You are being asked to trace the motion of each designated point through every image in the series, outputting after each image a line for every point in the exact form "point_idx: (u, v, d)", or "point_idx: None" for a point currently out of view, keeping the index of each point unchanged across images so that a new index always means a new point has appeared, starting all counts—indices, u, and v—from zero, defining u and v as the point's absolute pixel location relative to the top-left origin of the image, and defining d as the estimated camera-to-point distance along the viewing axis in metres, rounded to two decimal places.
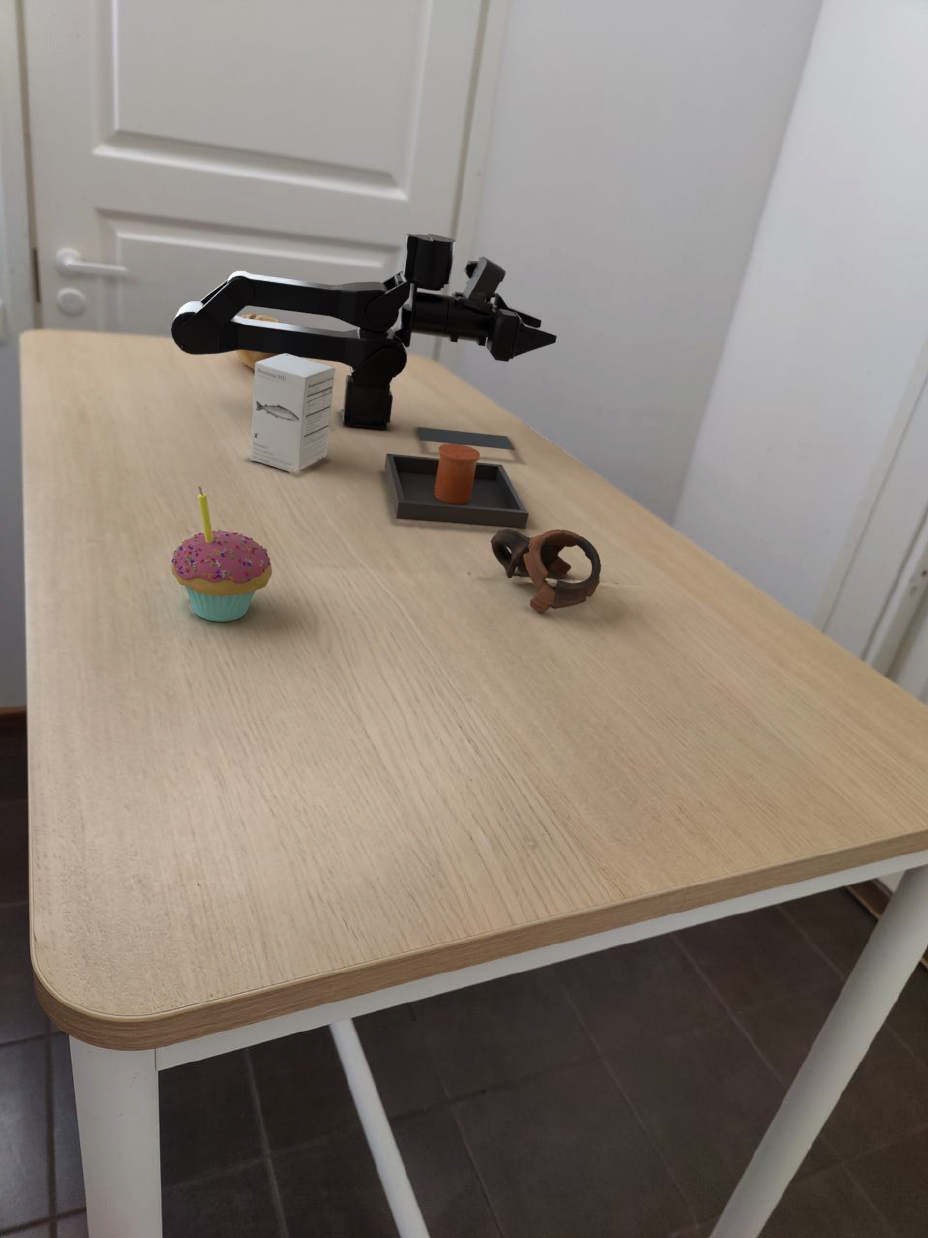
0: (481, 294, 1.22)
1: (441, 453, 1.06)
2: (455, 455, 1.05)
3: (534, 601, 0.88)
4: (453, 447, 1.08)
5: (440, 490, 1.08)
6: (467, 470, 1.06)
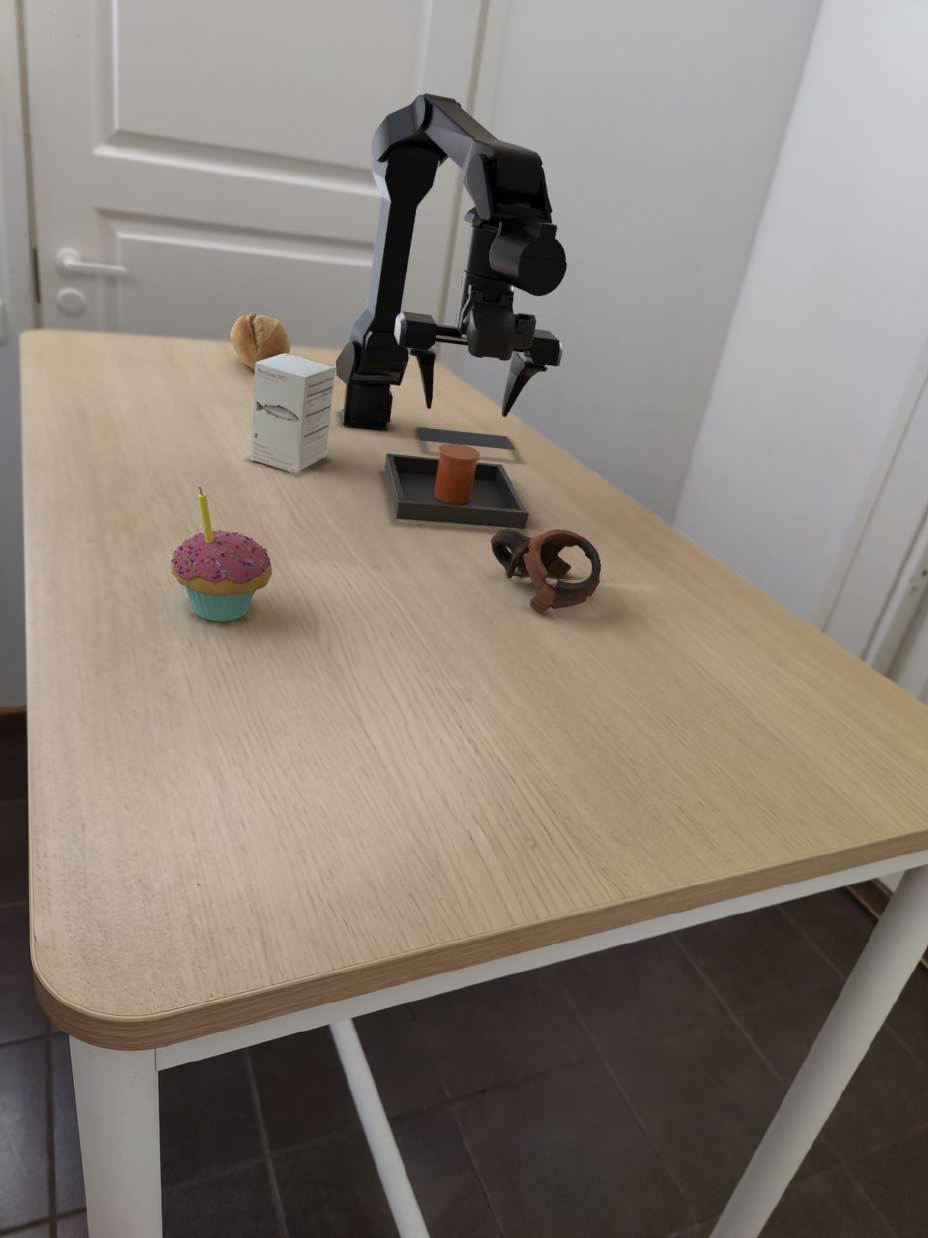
0: (465, 319, 0.95)
1: (441, 453, 1.06)
2: (455, 455, 1.05)
3: (534, 601, 0.88)
4: (453, 447, 1.08)
5: (440, 490, 1.08)
6: (467, 470, 1.06)
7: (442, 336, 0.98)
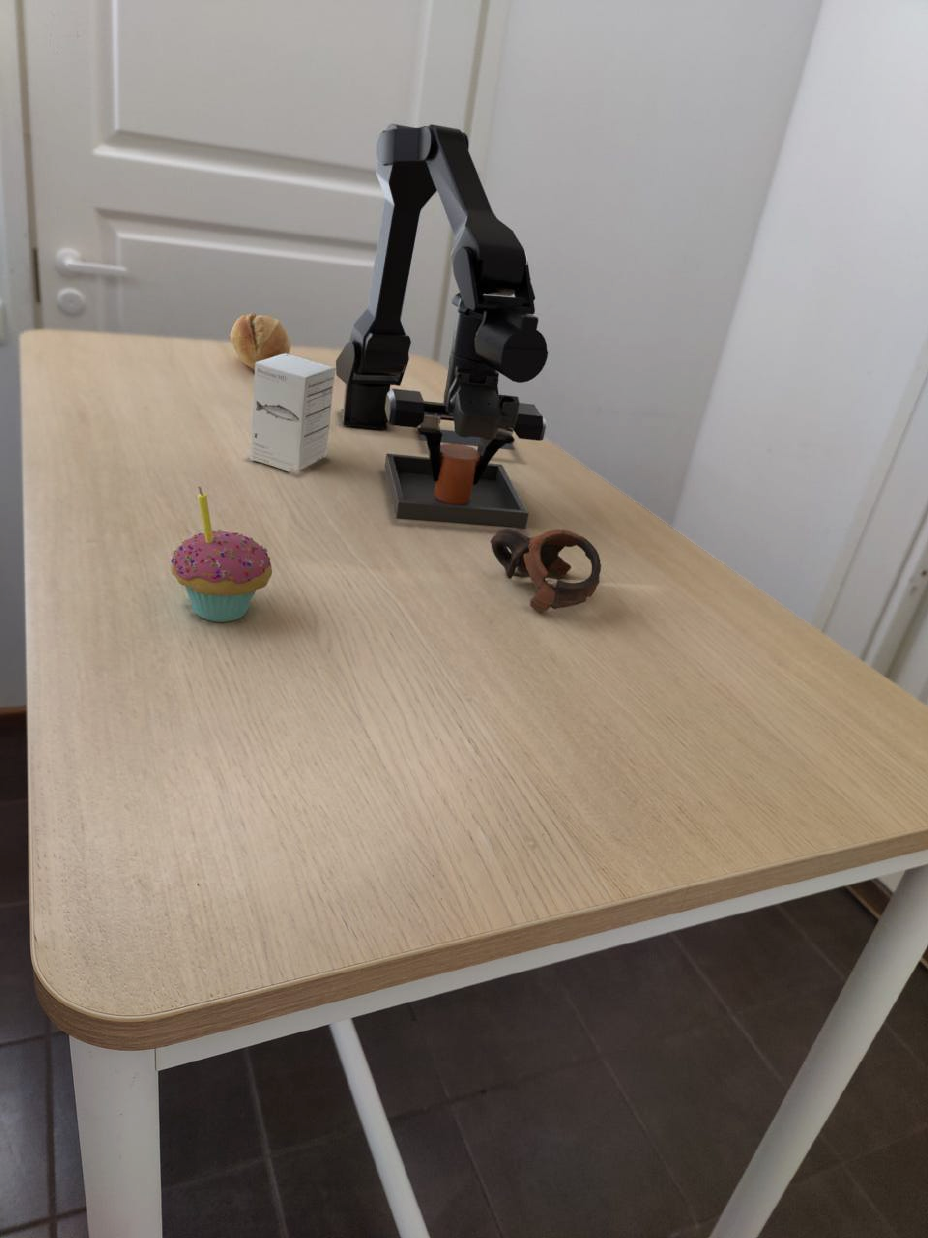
0: (452, 400, 0.99)
1: (441, 453, 1.06)
2: (455, 455, 1.05)
3: (534, 601, 0.88)
4: (453, 447, 1.08)
5: (440, 490, 1.08)
6: (468, 470, 1.06)
7: (448, 415, 1.03)
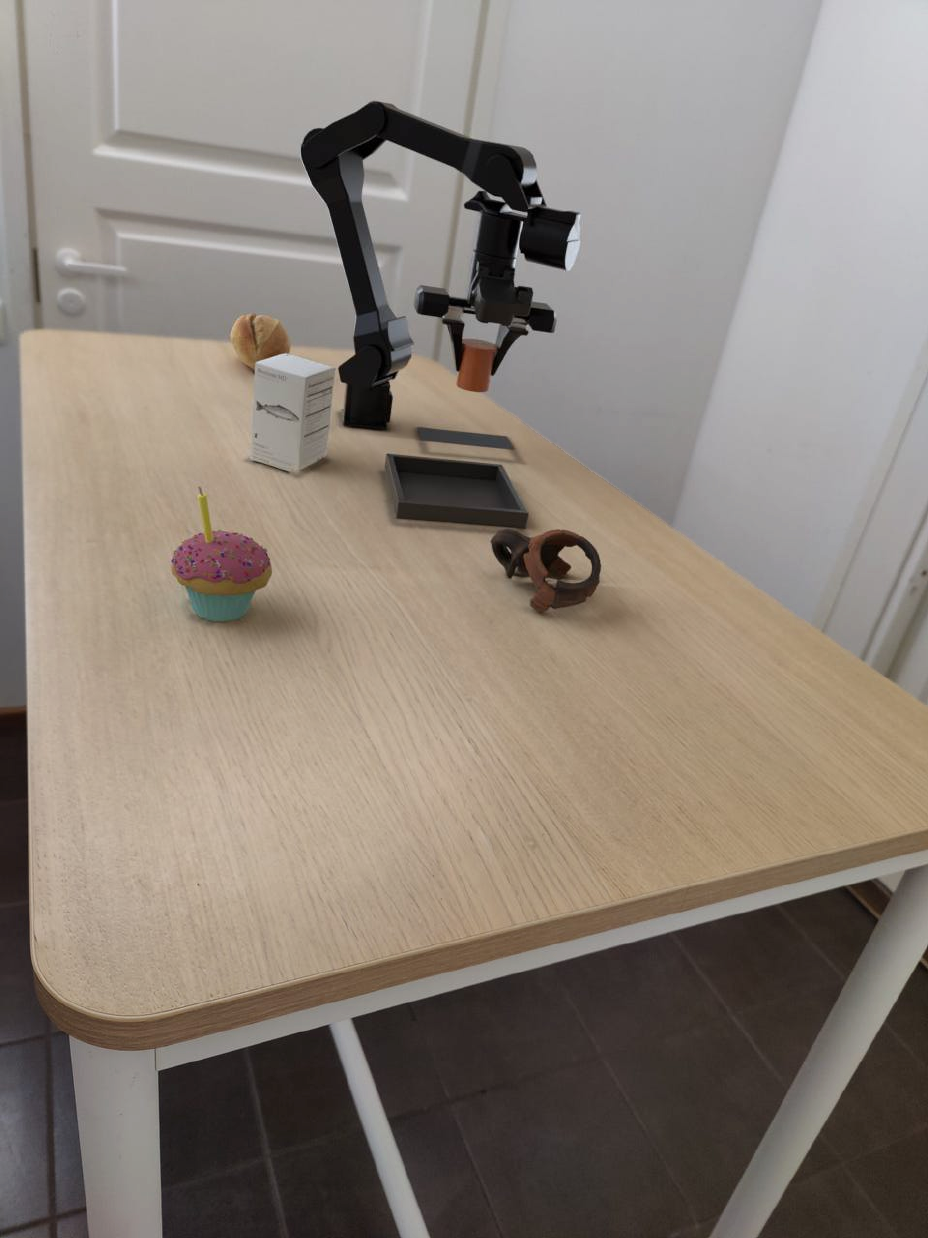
0: (474, 291, 1.12)
1: (463, 344, 1.19)
2: (475, 346, 1.18)
3: (534, 601, 0.88)
4: (474, 341, 1.21)
5: (462, 379, 1.21)
6: (486, 360, 1.19)
7: (470, 308, 1.16)
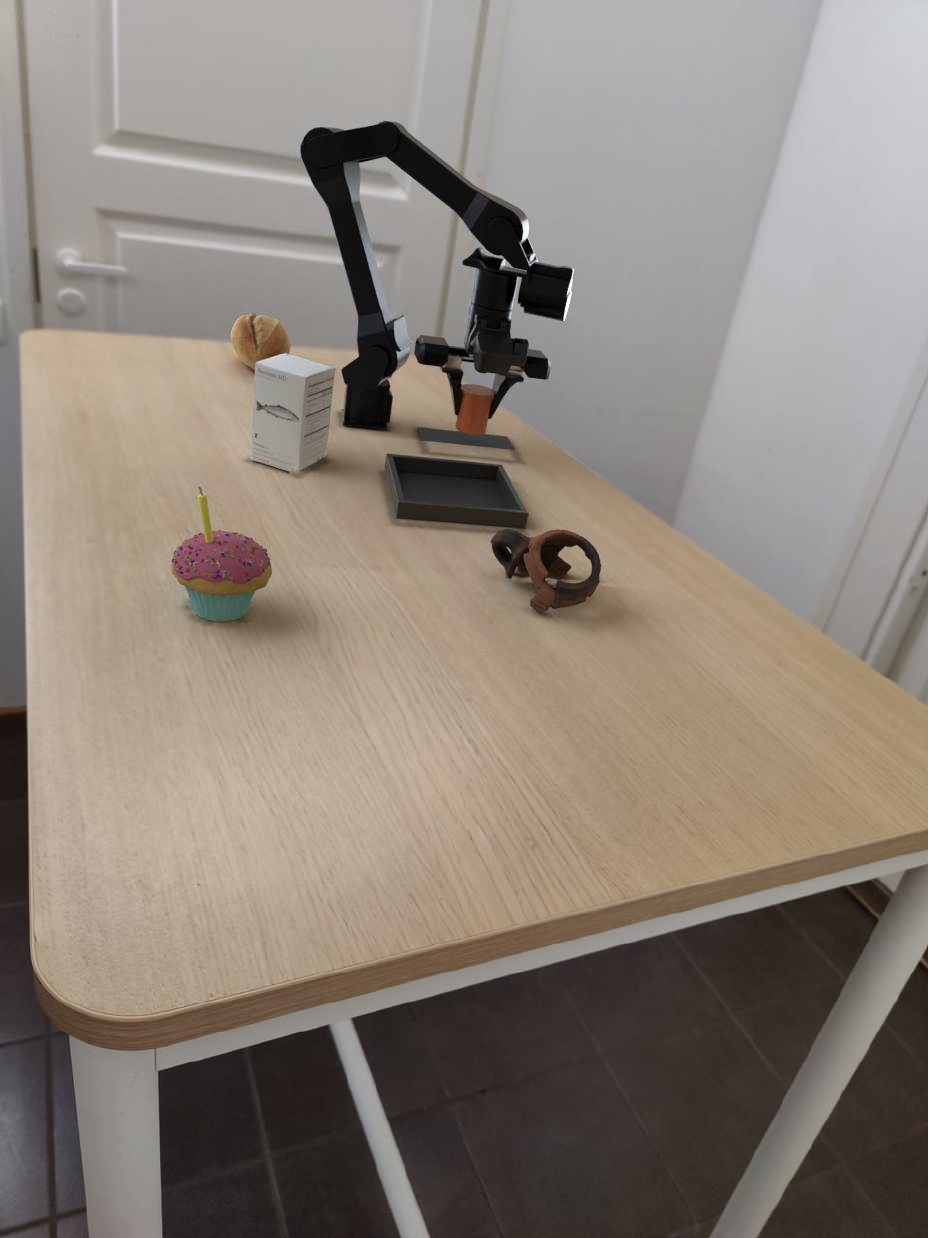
0: (472, 342, 1.18)
1: (462, 390, 1.25)
2: (474, 392, 1.24)
3: (534, 601, 0.88)
4: (472, 386, 1.27)
5: (461, 422, 1.27)
6: (484, 405, 1.25)
7: (468, 357, 1.22)
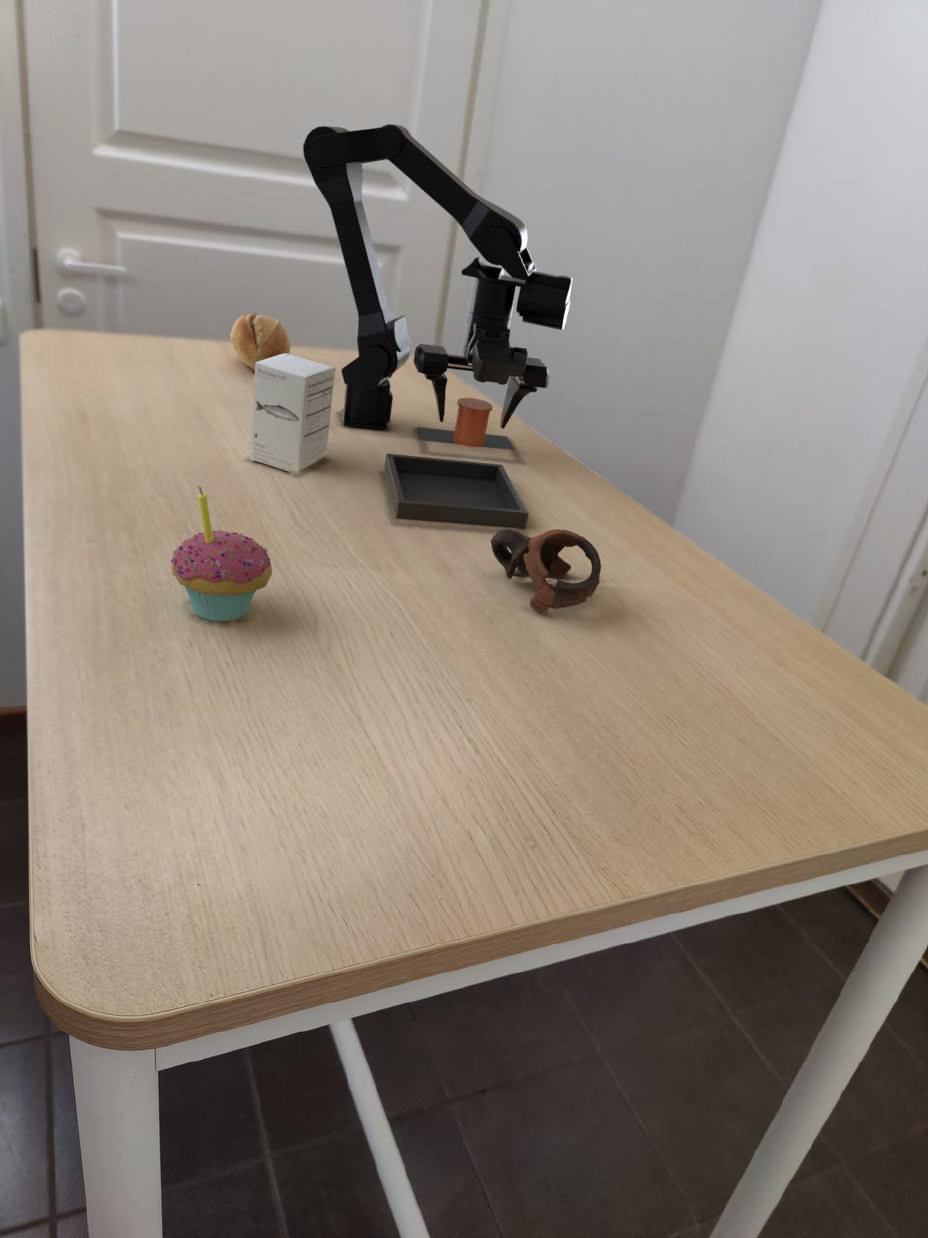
0: (471, 351, 1.19)
1: (460, 404, 1.26)
2: (471, 406, 1.25)
3: (534, 601, 0.88)
4: (470, 400, 1.28)
5: (459, 436, 1.28)
6: (482, 419, 1.26)
7: (452, 364, 1.22)
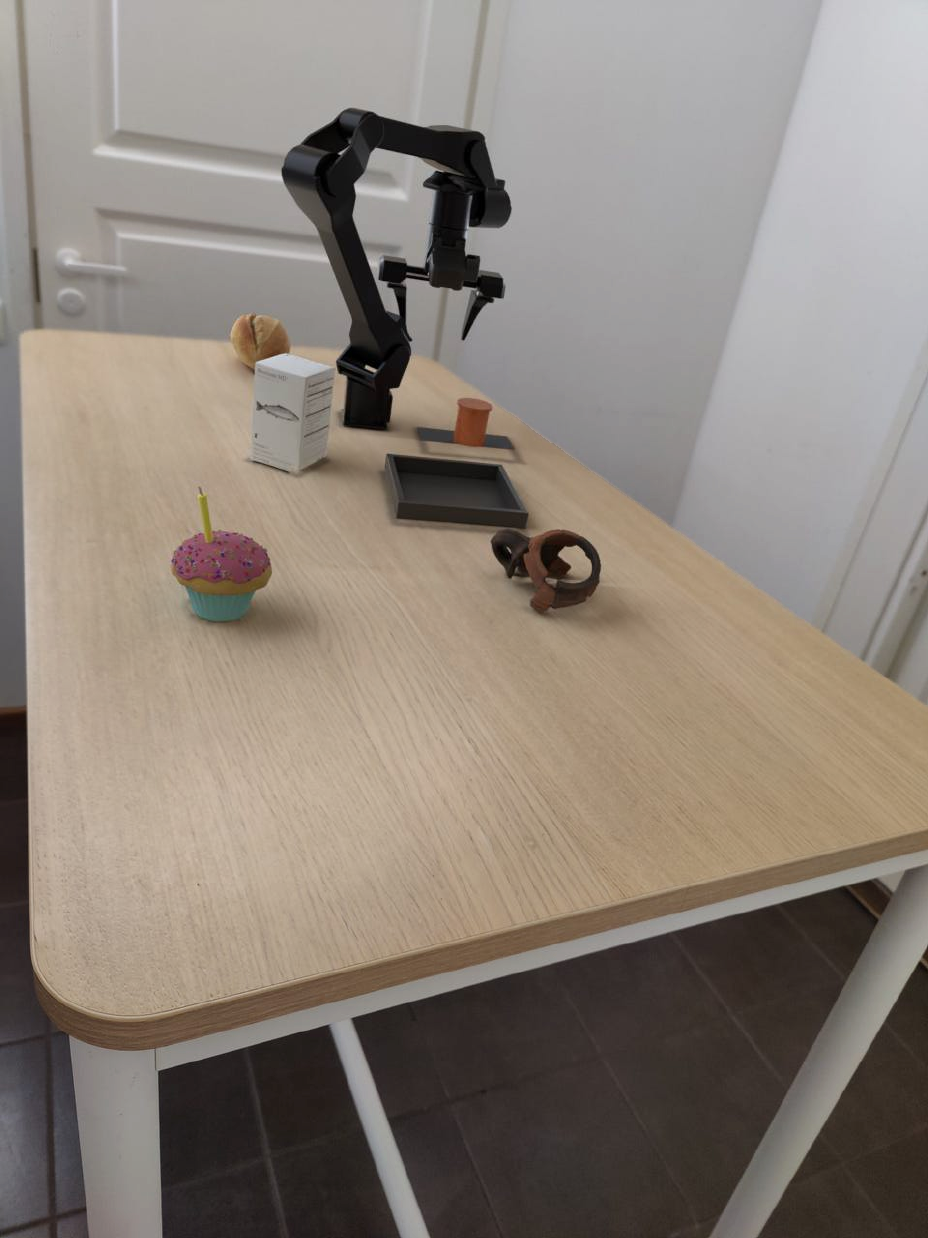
0: (428, 259, 1.25)
1: (460, 404, 1.26)
2: (471, 406, 1.25)
3: (534, 601, 0.88)
4: (470, 400, 1.28)
5: (459, 436, 1.28)
6: (482, 419, 1.26)
7: (412, 273, 1.28)
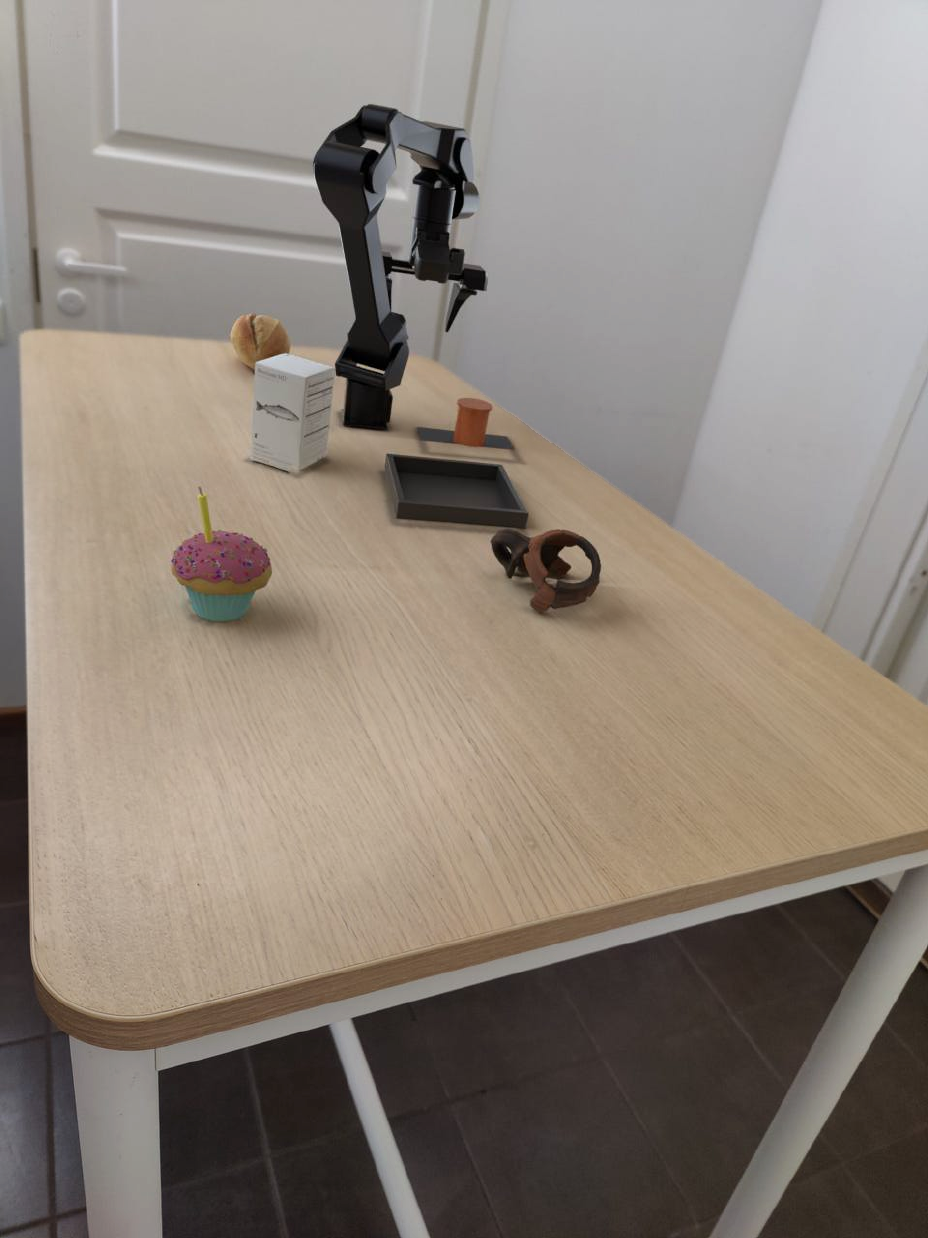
0: (413, 253, 1.28)
1: (460, 404, 1.26)
2: (471, 406, 1.25)
3: (534, 601, 0.88)
4: (470, 400, 1.28)
5: (459, 436, 1.28)
6: (482, 419, 1.26)
7: (397, 267, 1.31)
